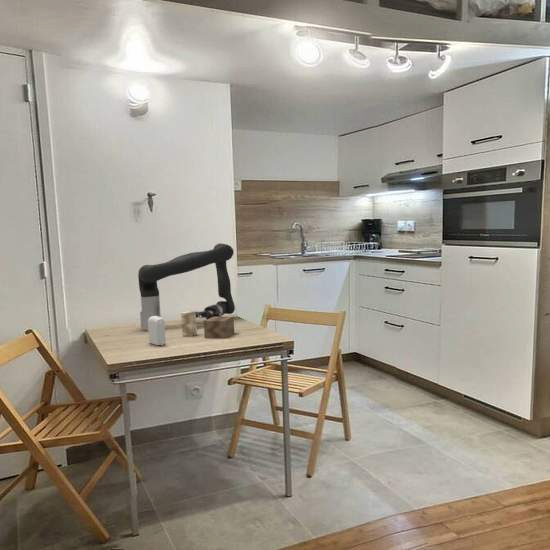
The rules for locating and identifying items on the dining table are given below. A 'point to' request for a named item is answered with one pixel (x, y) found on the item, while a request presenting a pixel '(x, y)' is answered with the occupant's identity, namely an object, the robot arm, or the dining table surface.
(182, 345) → the dining table surface
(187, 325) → the maple block
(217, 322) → the walnut block
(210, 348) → the dining table surface
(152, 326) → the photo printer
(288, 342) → the dining table surface
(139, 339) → the dining table surface
